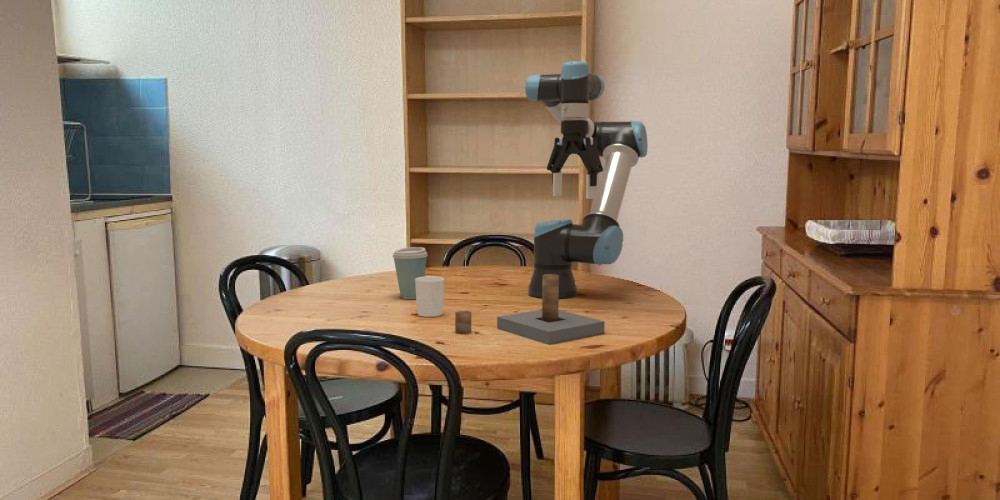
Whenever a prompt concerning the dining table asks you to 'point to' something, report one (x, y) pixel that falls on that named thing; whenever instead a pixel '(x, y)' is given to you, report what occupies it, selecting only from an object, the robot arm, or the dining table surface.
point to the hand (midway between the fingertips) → (573, 197)
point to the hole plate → (550, 326)
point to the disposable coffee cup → (409, 269)
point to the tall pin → (550, 297)
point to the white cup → (429, 296)
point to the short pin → (463, 322)
